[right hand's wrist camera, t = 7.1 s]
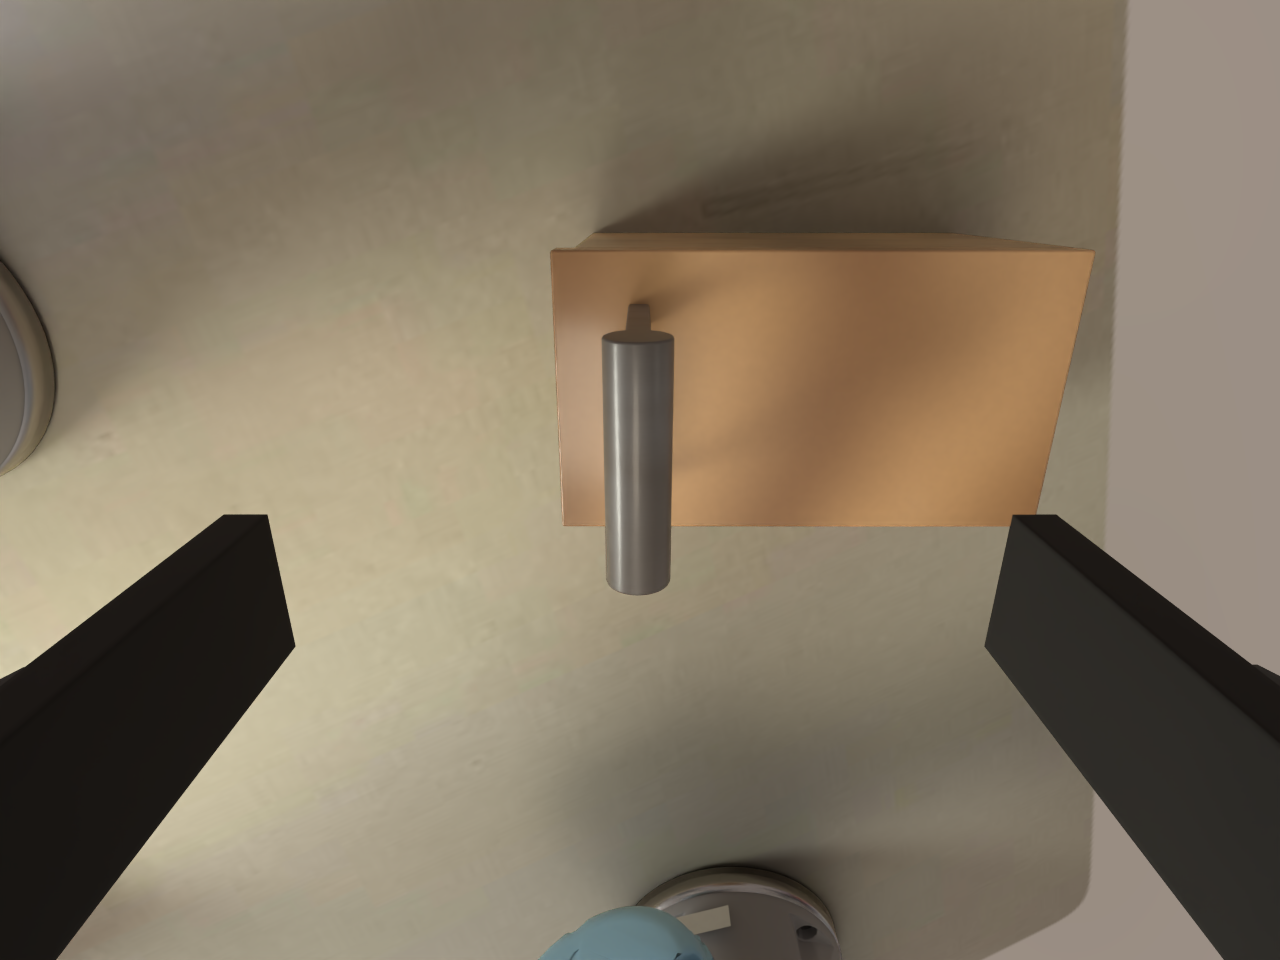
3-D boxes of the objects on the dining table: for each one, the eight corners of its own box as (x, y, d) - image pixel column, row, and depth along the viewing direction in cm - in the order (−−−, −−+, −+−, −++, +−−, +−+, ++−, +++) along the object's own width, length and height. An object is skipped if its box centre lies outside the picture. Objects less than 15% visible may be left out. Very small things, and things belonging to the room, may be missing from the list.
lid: (565, 514, 27) (534, 644, 19) (553, 247, 24) (509, 273, 16) (1019, 514, 27) (1174, 645, 19) (1077, 248, 24) (1296, 274, 16)
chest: (597, 432, 37) (582, 514, 27) (592, 232, 33) (573, 247, 24) (922, 432, 37) (1018, 514, 27) (953, 233, 33) (1076, 247, 24)
